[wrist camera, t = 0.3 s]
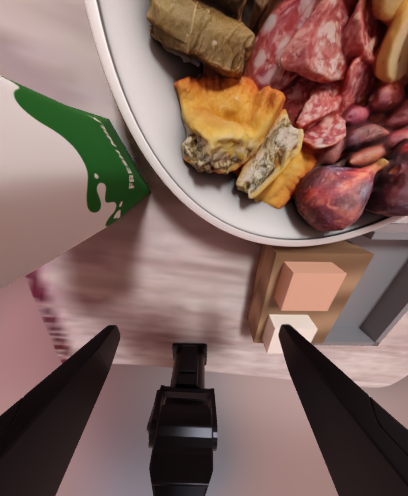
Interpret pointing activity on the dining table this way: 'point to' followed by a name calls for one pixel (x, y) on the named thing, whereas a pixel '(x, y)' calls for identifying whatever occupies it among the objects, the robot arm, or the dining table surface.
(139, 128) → the bowl
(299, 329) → the cream tile
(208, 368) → the dining table surface
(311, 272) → the terracotta tile
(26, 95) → the milk carton
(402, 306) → the tray
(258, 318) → the board
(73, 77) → the dining table surface
